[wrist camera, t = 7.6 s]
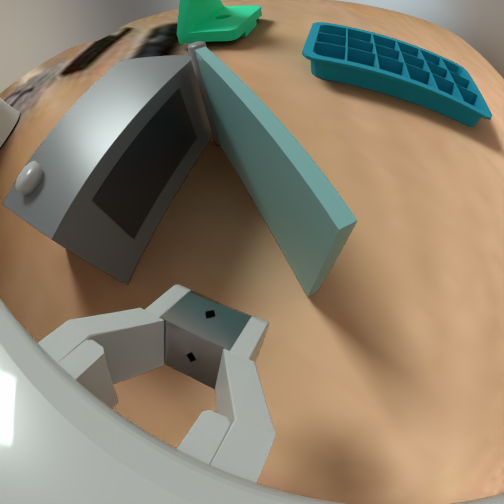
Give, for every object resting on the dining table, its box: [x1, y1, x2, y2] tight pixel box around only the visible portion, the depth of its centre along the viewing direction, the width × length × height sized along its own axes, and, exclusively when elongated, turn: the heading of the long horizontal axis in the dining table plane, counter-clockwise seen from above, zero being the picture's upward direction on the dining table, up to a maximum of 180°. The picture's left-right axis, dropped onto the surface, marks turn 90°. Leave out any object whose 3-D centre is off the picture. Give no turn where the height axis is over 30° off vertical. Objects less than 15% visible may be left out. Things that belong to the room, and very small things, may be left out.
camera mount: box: [177, 0, 262, 44], centre depth 23 cm, size 12×8×10 cm, turn 163°
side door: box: [188, 41, 357, 297], centre depth 13 cm, size 13×1×8 cm, turn 25°
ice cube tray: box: [302, 22, 492, 127], centre depth 20 cm, size 12×20×3 cm, turn 74°
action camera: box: [3, 55, 213, 284], centre depth 15 cm, size 15×7×8 cm, turn 157°
